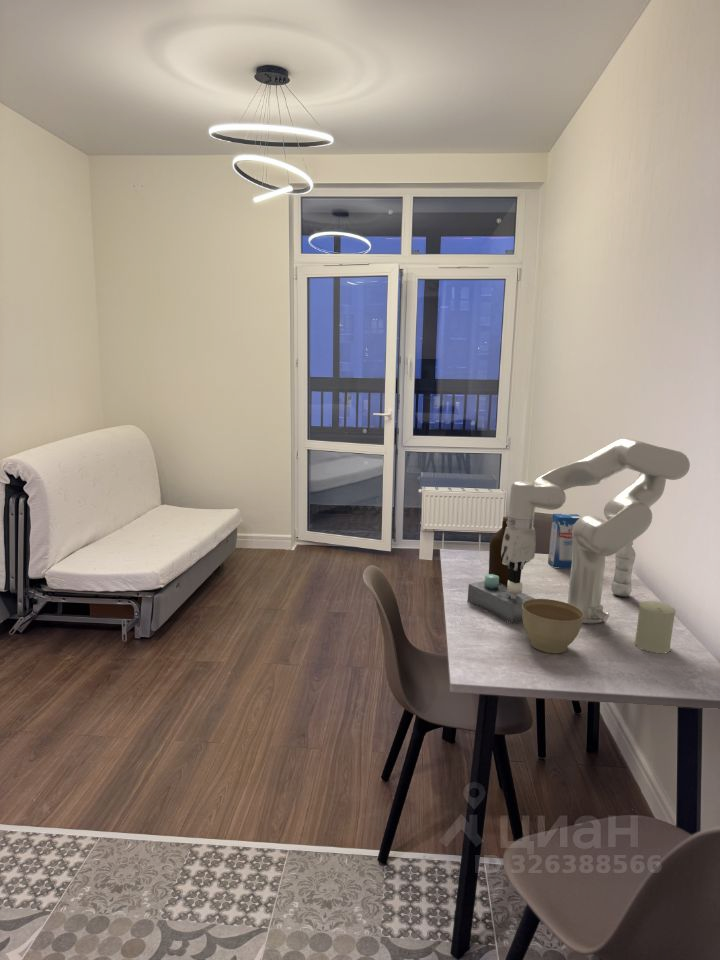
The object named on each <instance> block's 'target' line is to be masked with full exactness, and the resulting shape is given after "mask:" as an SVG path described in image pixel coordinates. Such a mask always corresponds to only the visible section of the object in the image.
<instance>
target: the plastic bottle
mask: <svg viewBox="0 0 720 960" xmlns="http://www.w3.org/2000/svg"><path fill="white" fill-rule="evenodd" d="M633 542H634V540H633V541H632V542H631V543H629V544H628V545H627V546H625V547H624V548H622V549H621V550H620V551H618V552H616V553H615V554H614V555H615V558H614V559H615V569H614V576H613V580H612V582H611V587H610V589H611V592H612V594H613V595H614V596H619V597H621V598H622V597H629V596H630V595H631V593H632V589H633V587H632V586H633V585H632V573H633V568H634V563H635V559H636V557H637V556H636V555H637V554H636V551H635V549H634V548H633V545H634V543H633Z"/></svg>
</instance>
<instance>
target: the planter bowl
mask: <svg viewBox="0 0 720 960" xmlns="http://www.w3.org/2000/svg"><path fill="white" fill-rule="evenodd" d="M522 611H523V612H522V618H523V622H522V624H523V627H524V628H523V629H524V631H525V633H526V635H527V637H528V638H529V640H530V645H531V646H532V647H533V648H535V649H536V650H537V651H540V652H543V653H548V654H561V653H565V652H566V651H567V649H568V646H570V645H571V644H572V643H573V642H574V641H575V639H576V638H577V636H578V635H579V633H580V631H581V628H582V624H583V623H582V620H583V618H584V613H583V612H582V610H580V609H579V608H577V607H576V606H573V605H571V604H568V602H564V601H560V600H557V599H549V598H535V599H531V600H527V601H525V602H524V603H523V604H522Z"/></svg>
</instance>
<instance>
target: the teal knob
mask: <svg viewBox="0 0 720 960" xmlns="http://www.w3.org/2000/svg"><path fill="white" fill-rule="evenodd" d="M484 581H485V582H484V585H485V586H486V587H488V588H490V589H492V588H497V587H498V584H499V576H497V575H493V574H489V573H488V574H485V575H484Z"/></svg>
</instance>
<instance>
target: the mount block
mask: <svg viewBox="0 0 720 960" xmlns="http://www.w3.org/2000/svg"><path fill="white" fill-rule="evenodd" d="M484 582H485V580H483V581H478V582H472V583H468V588H467V600H466V601H467V603H469V604H472V605H473V606H474V607H475V606H476V607H477V608H479V609H481V610H483V611H484V612H487V613H488V614H491V615H492V616H495V617H497V618H499V619H501V620H503V621H505V622H507V621H508V622H507V623H509V622H510V623H509V624H511V623H512V624H511V625H514V624H513V623H515V624H517V623H518V622H519V623H523V622H522V621H523V618H522V612H523V611H522V604H523V603H524V602H525V601H527V600H531V599H536V598H534V597H532V596H530V595H528V594H525V593H523V592H522V593H520V594H517V599H512V598H511V593H510V592H508V591H507V586H505V585H503V584H501V583H499V584H498V587H497V588H492V589H490V588H488V587H486V586H485V585H484Z"/></svg>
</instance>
